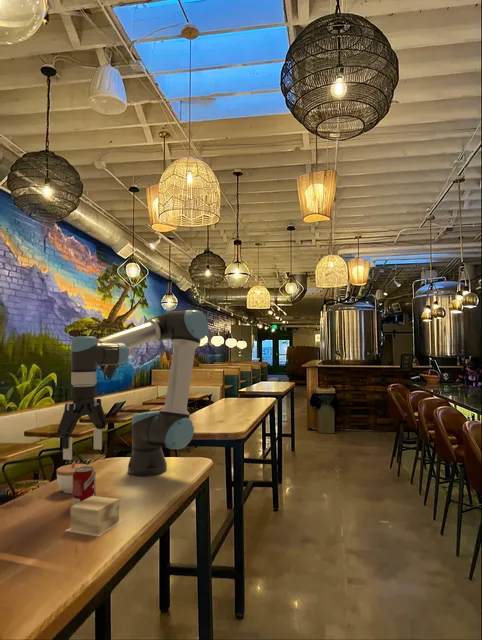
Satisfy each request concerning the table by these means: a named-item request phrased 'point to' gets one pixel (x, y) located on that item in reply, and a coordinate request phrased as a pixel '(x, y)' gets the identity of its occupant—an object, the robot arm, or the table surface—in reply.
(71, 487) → the lidded jar
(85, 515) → the beech block
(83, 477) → the soda can
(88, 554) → the table surface
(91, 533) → the grey square plate
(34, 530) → the table surface
